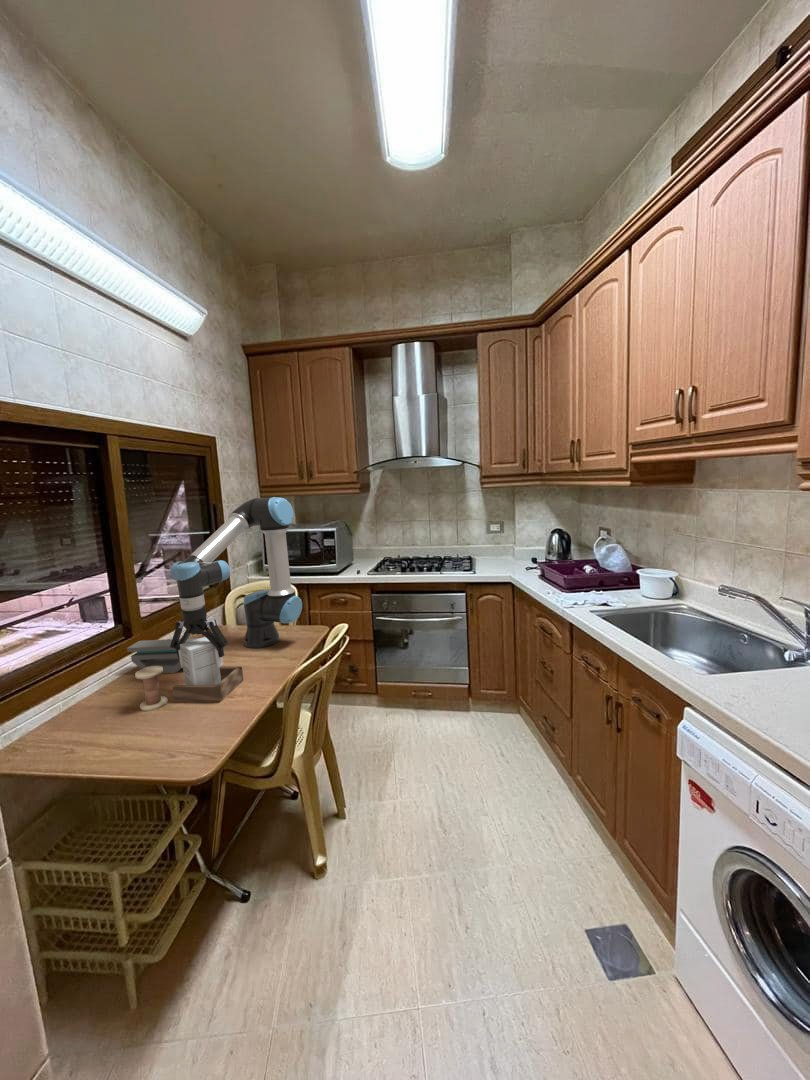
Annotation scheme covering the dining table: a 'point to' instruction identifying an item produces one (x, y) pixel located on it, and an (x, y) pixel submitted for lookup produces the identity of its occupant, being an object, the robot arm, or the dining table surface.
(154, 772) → the dining table surface
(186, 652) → the supplement box
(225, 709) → the dining table surface
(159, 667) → the bobbin post
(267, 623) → the robot arm
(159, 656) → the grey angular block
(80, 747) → the dining table surface
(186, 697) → the open wooden tray
